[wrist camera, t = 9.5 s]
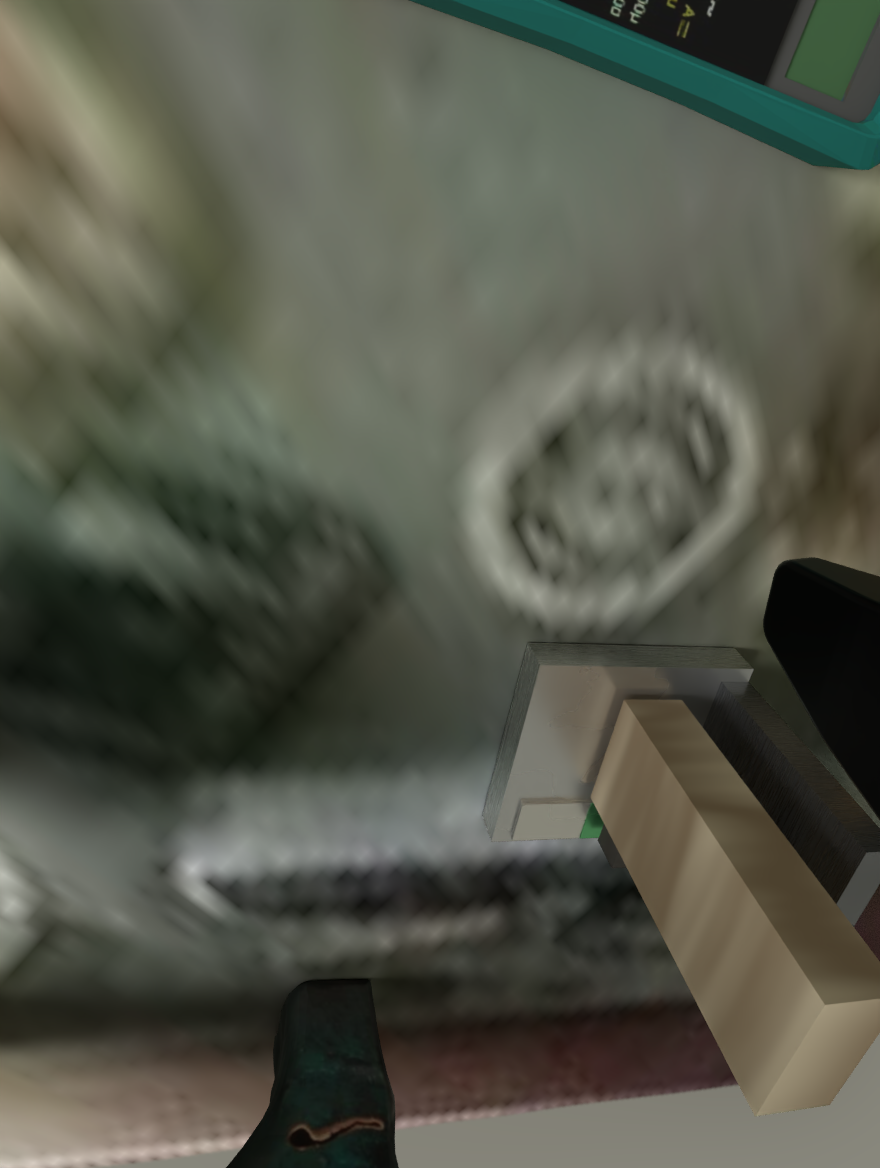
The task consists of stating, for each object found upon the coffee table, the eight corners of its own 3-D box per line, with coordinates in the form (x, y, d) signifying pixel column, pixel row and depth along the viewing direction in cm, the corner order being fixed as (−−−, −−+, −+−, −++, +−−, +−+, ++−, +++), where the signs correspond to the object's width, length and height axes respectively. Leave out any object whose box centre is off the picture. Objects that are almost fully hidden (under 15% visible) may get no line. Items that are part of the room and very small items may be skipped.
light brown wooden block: (576, 836, 27) (728, 1159, 19) (623, 699, 25) (825, 1005, 16) (642, 834, 28) (817, 1144, 20) (695, 700, 25) (924, 993, 17)
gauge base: (482, 815, 28) (562, 1045, 21) (527, 642, 25) (641, 849, 18) (668, 809, 30) (797, 1018, 23) (734, 647, 27) (908, 836, 20)
